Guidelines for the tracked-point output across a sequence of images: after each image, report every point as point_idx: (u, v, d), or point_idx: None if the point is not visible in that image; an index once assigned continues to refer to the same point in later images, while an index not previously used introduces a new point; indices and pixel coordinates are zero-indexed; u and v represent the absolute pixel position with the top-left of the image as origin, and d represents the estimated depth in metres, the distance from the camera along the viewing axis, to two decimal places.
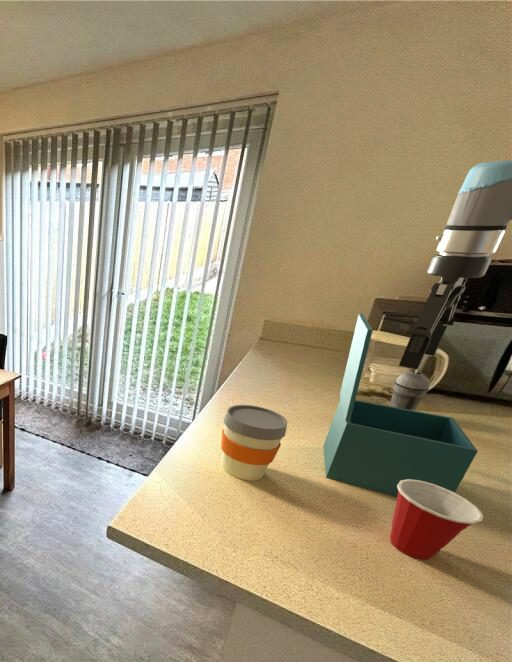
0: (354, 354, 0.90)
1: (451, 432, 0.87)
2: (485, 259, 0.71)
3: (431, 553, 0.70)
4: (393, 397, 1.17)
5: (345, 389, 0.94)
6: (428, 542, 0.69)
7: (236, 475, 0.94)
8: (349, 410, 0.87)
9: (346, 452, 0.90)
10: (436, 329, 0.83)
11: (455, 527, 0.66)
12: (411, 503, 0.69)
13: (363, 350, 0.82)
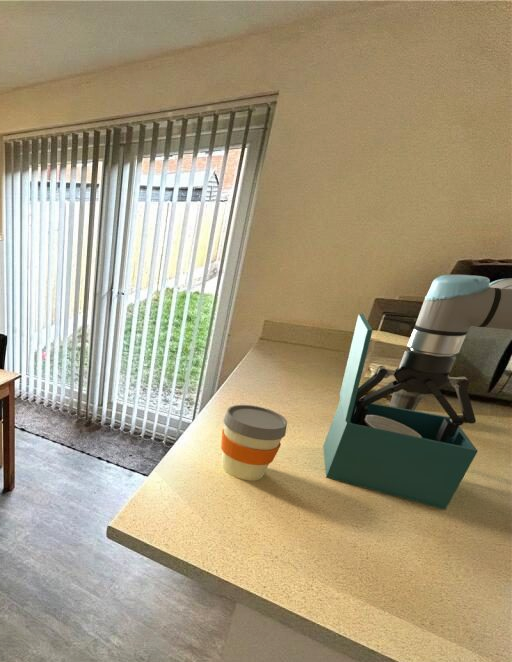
0: (354, 354, 0.90)
1: None
2: (422, 356, 0.81)
3: None
4: (393, 397, 1.17)
5: (345, 389, 0.94)
6: None
7: (236, 475, 0.94)
8: (349, 410, 0.87)
9: (346, 452, 0.90)
10: (444, 424, 0.85)
11: None
12: None
13: (363, 350, 0.82)
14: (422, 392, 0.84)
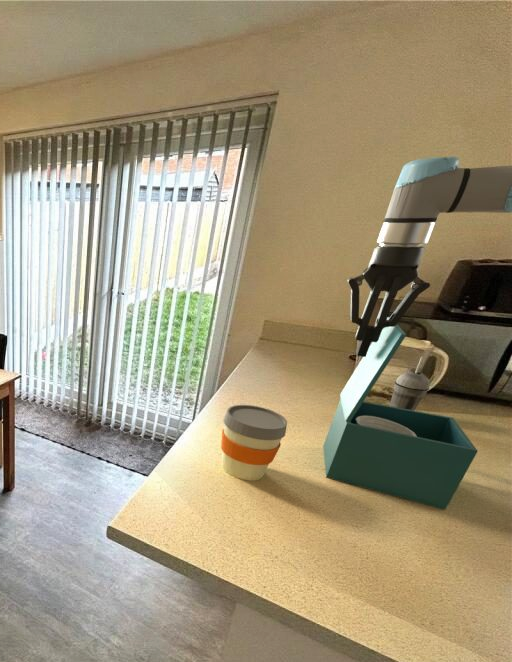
0: (373, 357, 0.88)
1: (451, 432, 0.87)
2: (390, 249, 0.78)
3: None
4: (393, 397, 1.17)
5: (351, 390, 0.93)
6: None
7: (236, 475, 0.94)
8: (353, 411, 0.86)
9: (346, 452, 0.90)
10: None
11: None
12: None
13: (389, 354, 0.80)
14: None
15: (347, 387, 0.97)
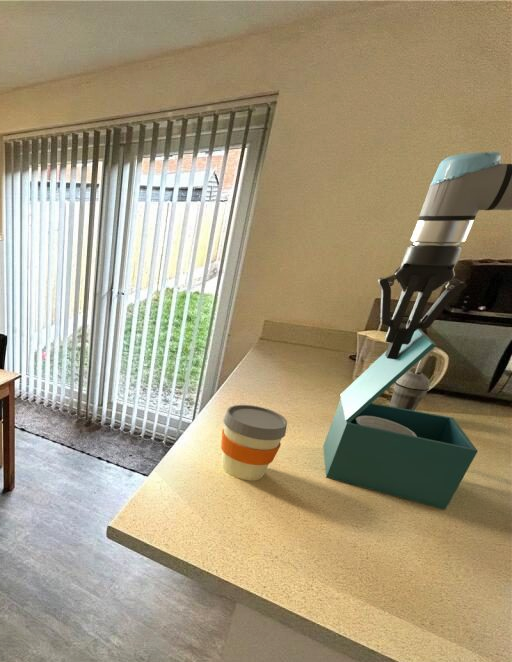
0: (389, 362, 0.87)
1: (451, 432, 0.87)
2: (426, 248, 0.75)
3: None
4: (393, 397, 1.17)
5: (356, 391, 0.93)
6: None
7: (236, 475, 0.94)
8: (356, 412, 0.86)
9: (346, 452, 0.90)
10: None
11: None
12: None
13: (412, 362, 0.78)
14: None
15: (351, 388, 0.96)
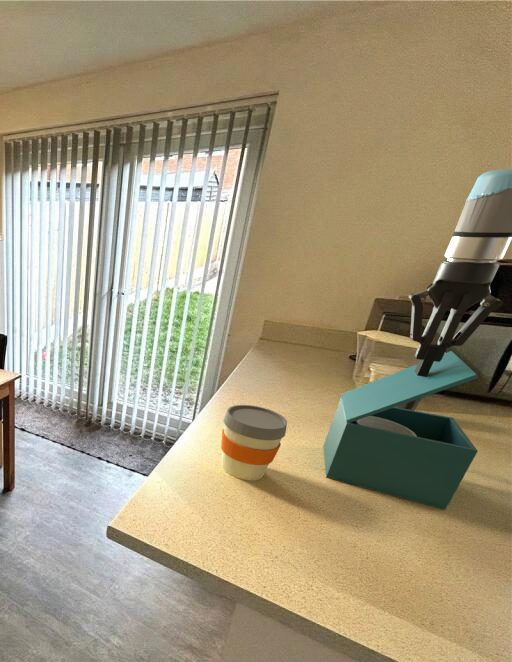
0: (413, 379, 0.85)
1: (451, 432, 0.87)
2: (462, 264, 0.74)
3: None
4: None
5: (363, 396, 0.92)
6: None
7: (236, 475, 0.94)
8: (361, 416, 0.86)
9: (346, 452, 0.90)
10: None
11: None
12: None
13: (445, 386, 0.77)
14: None
15: (356, 392, 0.96)
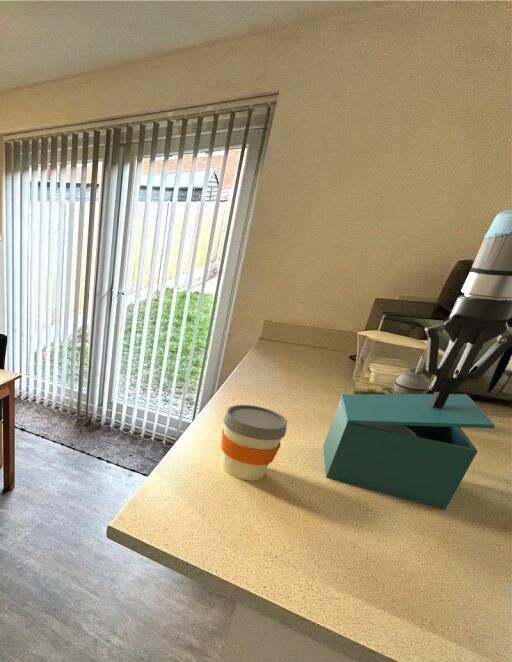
0: (424, 406, 0.86)
1: (451, 432, 0.87)
2: (479, 301, 0.74)
3: None
4: None
5: (367, 404, 0.92)
6: None
7: (236, 475, 0.94)
8: (364, 421, 0.86)
9: (346, 452, 0.90)
10: None
11: None
12: None
13: (459, 424, 0.77)
14: None
15: (360, 397, 0.96)
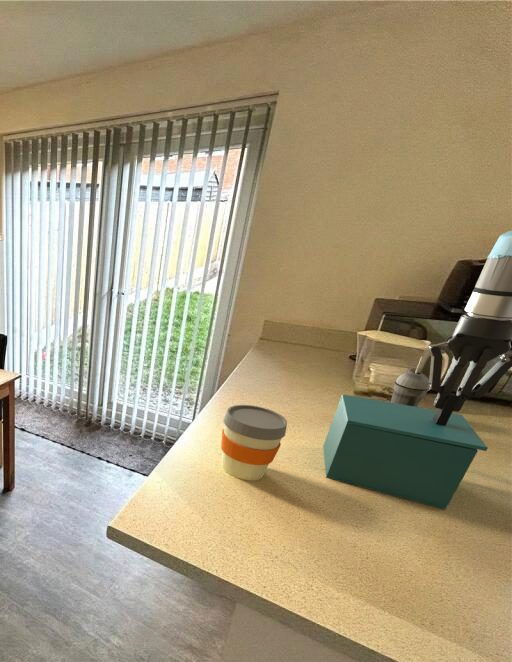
0: (421, 419, 0.87)
1: None
2: (483, 321, 0.74)
3: None
4: (393, 397, 1.17)
5: (367, 408, 0.93)
6: None
7: (236, 475, 0.94)
8: (363, 424, 0.86)
9: (346, 452, 0.90)
10: None
11: None
12: None
13: (454, 441, 0.79)
14: None
15: (360, 400, 0.96)
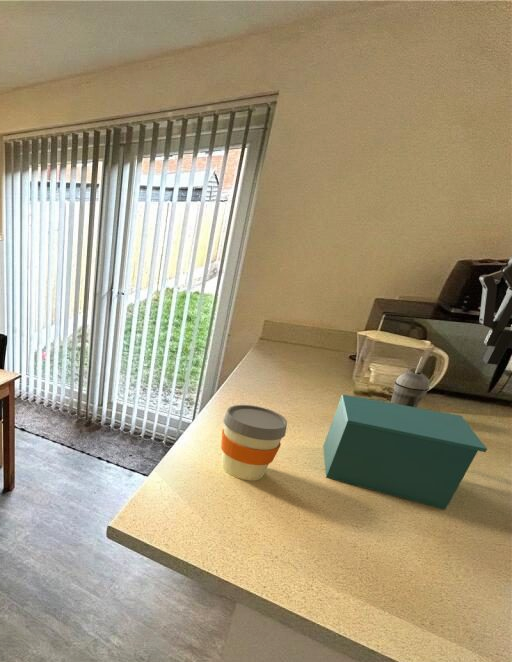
0: (421, 420, 0.87)
1: None
2: None
3: None
4: (393, 397, 1.17)
5: (367, 408, 0.93)
6: None
7: (236, 475, 0.94)
8: (363, 424, 0.86)
9: (346, 452, 0.90)
10: None
11: None
12: None
13: (454, 442, 0.79)
14: None
15: (360, 401, 0.96)
